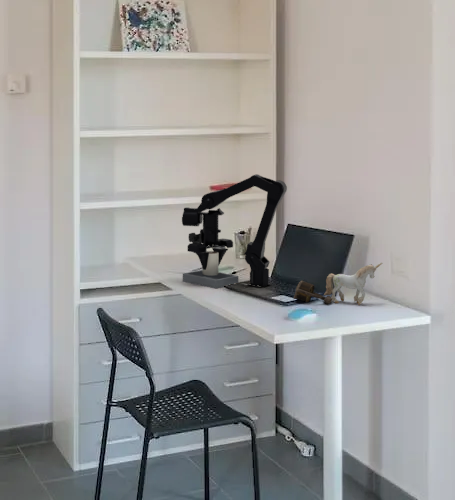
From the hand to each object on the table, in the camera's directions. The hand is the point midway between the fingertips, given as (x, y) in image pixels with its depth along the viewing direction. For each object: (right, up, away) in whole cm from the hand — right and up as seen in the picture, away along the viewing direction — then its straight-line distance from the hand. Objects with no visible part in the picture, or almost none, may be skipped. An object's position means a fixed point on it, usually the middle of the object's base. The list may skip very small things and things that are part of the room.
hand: (210, 268), depth 328 cm
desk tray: (0, -5, +1) cm, 5 cm away
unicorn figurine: (+49, -11, -28) cm, 57 cm away
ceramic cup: (0, -2, 0) cm, 2 cm away
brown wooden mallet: (+35, -11, -30) cm, 47 cm away
